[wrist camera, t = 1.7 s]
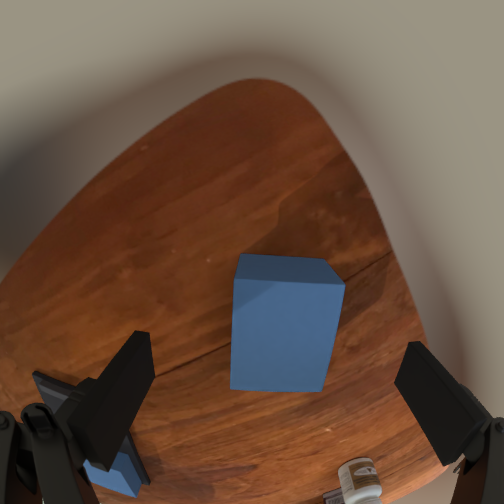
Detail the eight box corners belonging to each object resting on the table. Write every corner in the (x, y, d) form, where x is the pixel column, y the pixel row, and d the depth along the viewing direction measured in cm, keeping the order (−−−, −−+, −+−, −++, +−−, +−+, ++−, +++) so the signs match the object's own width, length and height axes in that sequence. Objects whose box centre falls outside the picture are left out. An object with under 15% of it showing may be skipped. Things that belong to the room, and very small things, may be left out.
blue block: (240, 253, 18) (233, 278, 13) (324, 258, 18) (346, 284, 13) (236, 345, 20) (229, 389, 15) (309, 348, 20) (322, 391, 15)
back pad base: (34, 370, 22) (17, 387, 18) (118, 400, 22) (104, 425, 18) (79, 457, 26) (70, 473, 22) (150, 481, 26) (144, 501, 22)
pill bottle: (378, 455, 23) (395, 502, 16) (360, 473, 24) (372, 518, 17) (348, 456, 23) (362, 508, 16) (331, 474, 24) (340, 523, 17)
